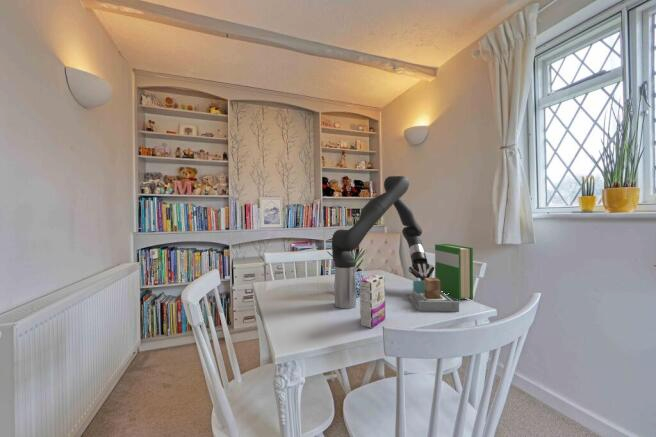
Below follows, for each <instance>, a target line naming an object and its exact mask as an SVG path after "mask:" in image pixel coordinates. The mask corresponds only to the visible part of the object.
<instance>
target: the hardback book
mask: <svg viewBox="0 0 656 437" xmlns="http://www.w3.org/2000/svg"><path fill="white" fill-rule="evenodd" d="M473 251H474V250H473V247H470V246H465V245H457V244H450V243H438V244H434V257H435V258H434V270H435V271H434V274H435V275H434V278H437V279H438V280H440V291H443V293H445V294H448V293H449V294H448V295H449V296H448V297H450V296H451V297H450V298H452V297H453V298H452V299H454V298H455V299H454V300H456V299H458V300H457V301H459V300H462V299H469V300H471V301H472V300H474V277H473V276H474V269H473V268H474V254H473V253H474V252H473Z"/></svg>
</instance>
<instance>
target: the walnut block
mask: <svg viewBox="0 0 656 437" xmlns="http://www.w3.org/2000/svg"><path fill="white" fill-rule="evenodd" d="M425 297H426V298H427V299H440V280H438V279H437V278H435V277H429V278H425Z"/></svg>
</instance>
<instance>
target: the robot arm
mask: <svg viewBox="0 0 656 437" xmlns="http://www.w3.org/2000/svg"><path fill="white" fill-rule="evenodd" d="M383 187H384V191H385V192H383V193H381V194H379V195H377V196H375V197H374V198H371V199H370V200H369V201H368V202H367V203H366V204H365V205H364V206H363V207H362V209H361V210H360V215H359V219H358V220H357V222H356V223H355V224H354V225H353V226H352V227H351V228H349V229H337V230H336V231H334V233H333V235H332V237H331V253H332V254H331V255H332V260H333V263H334V308H338V309H339V308H340V309H346V310H347V309H352V308H353V309H354V308H355V307H356V306H357V284H356V283H357V282H356V280H357V279H356V278H357V276H356V275H357V273H356V269H357V268H356V260H355V258H354V257H353V256H352V255H351V253H350V252H352V251H355V250H356V249H357V247H359V245H360V244H361V242H362V241H363V240H364V238H365V237H366V236H367V234H368V233H369V232H370V230H371V229H372V228H373V227H374V226H375V225H376V223H378V221H379V220H380V219H381V218H382V217H384V214H385V213H387V211H388V210H389V209H390V208H391V207H392V206H394V208H395V209H396V211H397V214H398V216H399V219H400V221H401V224H402V225H403V226H404V227H403V228H402V230H401V233H402V235H403V238H404V239H405V240H406V242H407V245H408V248H409V257H410V261H411V264H412V265H411V266H409V267H408V272H409V273H410V274H412V276H413V277H414V278H416V279H419V281H425V278H431V275H432V274H433V273H434V272H435V271H434V270H435V266H431V265H430V263H429V262H428V258H427V256H426V251H425V249H424V246H423V243H422V240H421V238H420V236H422V233H423V229H422V227H421V226H420V225H419V223H418V222H417V221H416V219H415V216H414V213H413V211H412V209H411V207H410V206H409V204H407V203H406V201H404V200H403V198H402V197H403V195H405V194H406V193H407V191H408V189H409V187H410V181H409V179H408V177H406V176H403V175H396V176H395V175H390V176H387V177H386V178H385V180H384V182H383ZM427 271H428V273H427Z"/></svg>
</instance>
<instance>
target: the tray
mask: <svg viewBox="0 0 656 437" xmlns="http://www.w3.org/2000/svg"><path fill="white" fill-rule="evenodd" d="M413 291H416V292H417V294H418V295H419V296H420V297H421V298H422V299H423V300H424V301H447V299H446V298H444V297H443V296H442V295H441V294H440V299H427V298H426V297H425V281H421V280H412V292H413Z"/></svg>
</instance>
